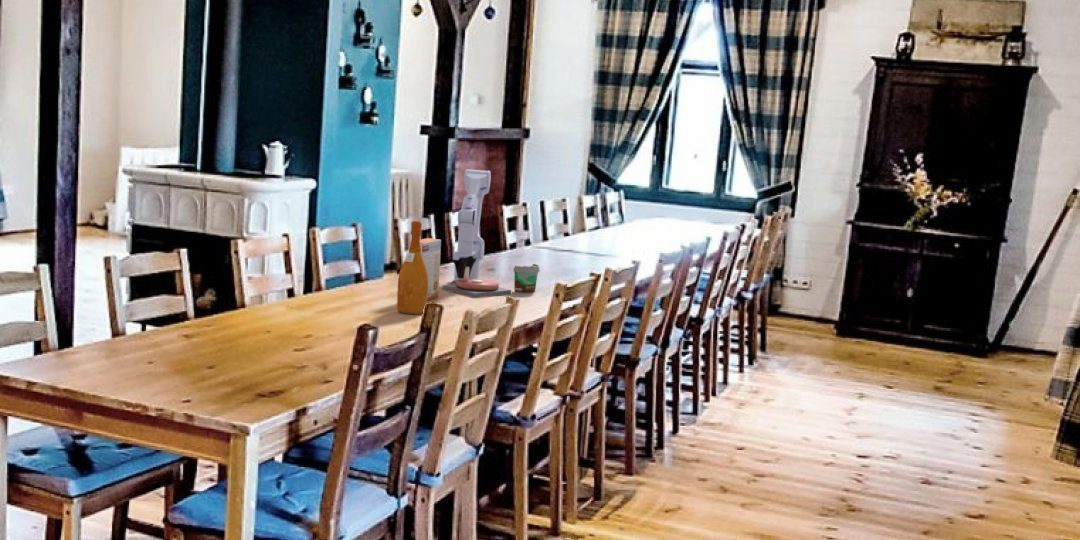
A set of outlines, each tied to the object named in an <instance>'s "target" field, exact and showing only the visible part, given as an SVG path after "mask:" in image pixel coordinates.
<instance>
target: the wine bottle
mask: <svg viewBox="0 0 1080 540" xmlns="http://www.w3.org/2000/svg"><path fill="white" fill-rule="evenodd" d="M410 226H411V231H410V235H411V241H410V242H411V246H410V248H409V247H408V251H407V252H406V254H405V256H404V261H403V263H402V265H401V267H400V270H399V274H398V280H397V297H396V302H397V303H396V306H397V307H396V308H397V311H398V312H399V313H400V314H401V313H402V314H406V315H422V314H423V313H422V312H423V309H424V306H425V304H426V303H427V302H428V300H427V295H428V273H427V269H426V265H425V263H424V260H423V257H422V254H421V248H420V240H421V238H420V237H421V235H422V222H420V221H418V220H413V221H411V223H410Z"/></svg>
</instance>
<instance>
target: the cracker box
mask: <svg viewBox="0 0 1080 540" xmlns="http://www.w3.org/2000/svg"><path fill="white" fill-rule="evenodd" d="M410 246H411V241H409V242H408V249H409V248H410ZM441 247H442V239H439V238H438V239H437V238H431V237H427V238H422V239H421V238H420V248H421V254H422V257H423V260H424V263H425V265H426V269H427V273H428V295H427V301H429V300H433V299H437V298H439V291H440V290H439V288H440V287H439V286H440V271H441V270H440V268H441V252H442V251H441Z"/></svg>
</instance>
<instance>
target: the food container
mask: <svg viewBox="0 0 1080 540" xmlns="http://www.w3.org/2000/svg"><path fill="white" fill-rule="evenodd" d="M513 272H514V279H513V280H514V293H520V294H534V293H535V292H536V288H537V287H536V286H537V281H538V276H539V275H538V273H540V272H541V271H540V267H539V264H536V263H532V266H531V265H529V266H528V265H527V266H526V265H523V266H519V265H514V268H513Z"/></svg>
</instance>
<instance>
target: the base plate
mask: <svg viewBox="0 0 1080 540" xmlns="http://www.w3.org/2000/svg"><path fill="white" fill-rule="evenodd" d="M442 290H444V291H447V292H452V293H456V294H461V295H463V296H468V297H471V298H475V299H476V298H485V297H495V296H505V295H507V294H508V295H512V289H509V288H505V287H504V288H503V287H500V286H499V288H498V289H495V290H471V289H464V288H460V287H457V286H456V283H453V284H452V283H450V284H443V285H442ZM508 295H507V296H508Z"/></svg>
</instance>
